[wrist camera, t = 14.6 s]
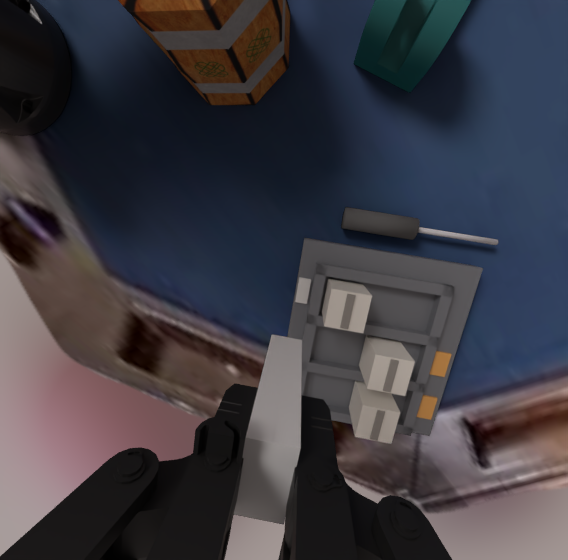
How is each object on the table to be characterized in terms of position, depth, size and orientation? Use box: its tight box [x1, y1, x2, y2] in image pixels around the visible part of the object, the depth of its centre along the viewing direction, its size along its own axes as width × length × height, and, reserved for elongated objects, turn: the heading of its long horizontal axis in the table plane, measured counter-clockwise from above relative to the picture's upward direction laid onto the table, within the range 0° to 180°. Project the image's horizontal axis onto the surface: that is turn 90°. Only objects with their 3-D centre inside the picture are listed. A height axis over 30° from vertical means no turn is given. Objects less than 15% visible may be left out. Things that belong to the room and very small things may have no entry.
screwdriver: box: [341, 207, 498, 245], centre depth 32 cm, size 17×2×2 cm, turn 81°
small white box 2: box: [349, 380, 400, 444], centre depth 33 cm, size 4×4×5 cm
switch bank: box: [287, 238, 483, 436], centre depth 35 cm, size 20×22×3 cm
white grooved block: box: [359, 335, 415, 396], centre depth 32 cm, size 4×4×5 cm
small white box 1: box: [322, 278, 372, 333], centre depth 31 cm, size 4×4×5 cm
